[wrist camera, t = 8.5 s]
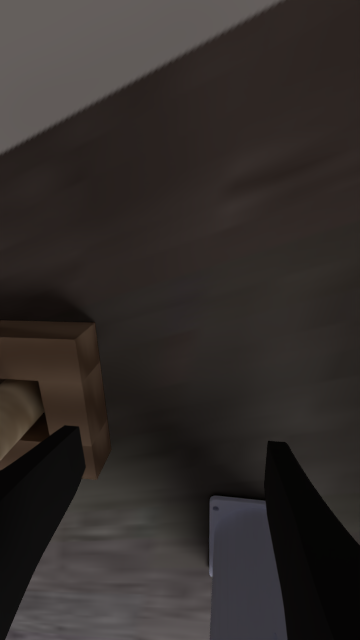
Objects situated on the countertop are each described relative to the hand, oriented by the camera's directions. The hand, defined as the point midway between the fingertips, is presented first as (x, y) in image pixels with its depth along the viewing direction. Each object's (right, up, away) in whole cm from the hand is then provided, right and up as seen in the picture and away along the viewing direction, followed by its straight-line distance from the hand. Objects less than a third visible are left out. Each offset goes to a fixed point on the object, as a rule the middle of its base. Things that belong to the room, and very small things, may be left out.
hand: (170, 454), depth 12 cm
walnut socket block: (-11, 0, +12) cm, 16 cm away
